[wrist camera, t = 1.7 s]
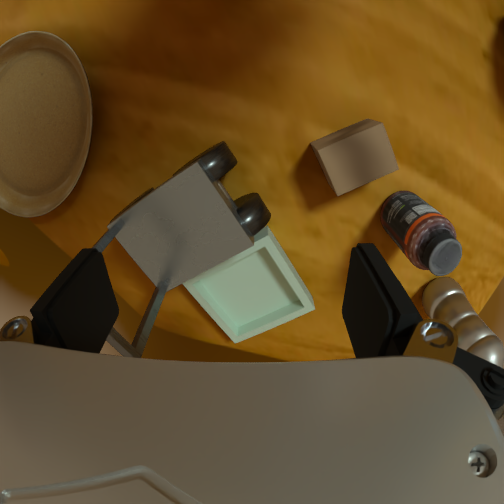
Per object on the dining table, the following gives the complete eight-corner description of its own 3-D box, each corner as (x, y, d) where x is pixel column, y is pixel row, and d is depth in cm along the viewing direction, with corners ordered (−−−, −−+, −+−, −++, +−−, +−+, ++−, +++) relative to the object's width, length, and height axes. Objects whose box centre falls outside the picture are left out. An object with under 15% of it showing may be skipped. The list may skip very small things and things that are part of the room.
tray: (267, 225, 35) (268, 235, 33) (312, 297, 40) (315, 309, 38) (184, 270, 38) (180, 281, 36) (236, 330, 43) (235, 343, 41)
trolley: (226, 136, 30) (193, 184, 15) (270, 205, 34) (280, 307, 19) (122, 207, 34) (42, 296, 19) (166, 263, 38) (119, 372, 23)
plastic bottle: (421, 273, 38) (491, 382, 21) (458, 268, 38) (530, 364, 20) (413, 308, 41) (467, 416, 24) (448, 302, 41) (506, 399, 23)
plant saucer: (-35, 153, 29) (-48, 159, 26) (23, 10, 20) (8, 8, 17) (58, 239, 37) (46, 251, 34) (144, 86, 28) (133, 86, 25)
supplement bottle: (410, 238, 36) (453, 289, 26) (372, 228, 35) (409, 282, 25) (427, 195, 33) (478, 237, 23) (387, 183, 32) (435, 223, 22)
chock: (367, 118, 29) (382, 122, 25) (382, 159, 31) (398, 169, 27) (309, 142, 31) (317, 150, 27) (328, 183, 33) (337, 196, 29)
